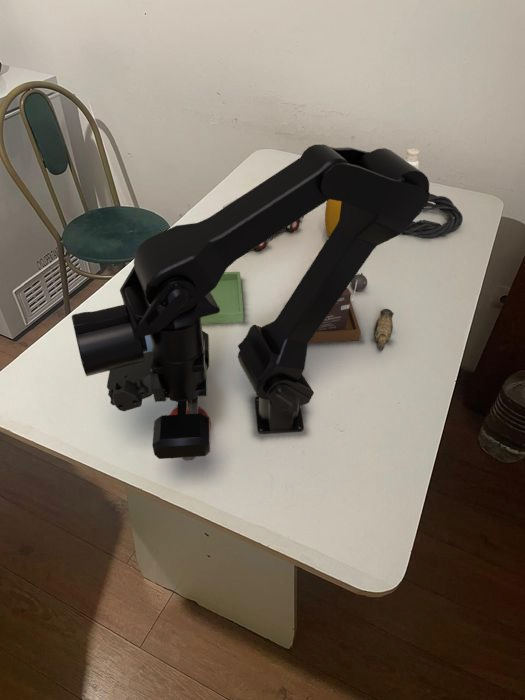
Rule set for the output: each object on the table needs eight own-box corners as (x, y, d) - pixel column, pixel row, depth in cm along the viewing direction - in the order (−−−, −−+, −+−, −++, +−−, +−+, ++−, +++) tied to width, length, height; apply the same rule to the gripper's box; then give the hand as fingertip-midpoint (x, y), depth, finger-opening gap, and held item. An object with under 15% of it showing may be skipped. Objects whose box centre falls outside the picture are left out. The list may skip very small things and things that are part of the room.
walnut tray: (359, 340, 86) (360, 331, 84) (298, 343, 85) (299, 334, 84) (346, 302, 93) (348, 293, 92) (291, 305, 93) (291, 295, 91)
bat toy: (343, 312, 91) (347, 291, 88) (355, 265, 102) (359, 245, 98) (360, 315, 91) (364, 294, 87) (370, 268, 101) (374, 247, 98)
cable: (462, 215, 117) (467, 197, 114) (456, 247, 107) (462, 228, 104) (386, 202, 121) (390, 184, 118) (375, 231, 111) (378, 213, 108)
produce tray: (243, 322, 89) (243, 312, 87) (172, 325, 88) (171, 315, 87) (240, 280, 98) (239, 271, 96) (175, 282, 97) (174, 273, 95)
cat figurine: (392, 322, 89) (396, 307, 85) (387, 360, 84) (391, 346, 81) (376, 319, 89) (379, 305, 86) (369, 357, 85) (373, 343, 82)
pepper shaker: (418, 194, 124) (429, 148, 116) (410, 203, 121) (420, 157, 113) (397, 188, 126) (406, 143, 119) (388, 197, 123) (397, 151, 115)
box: (313, 334, 86) (316, 299, 81) (301, 312, 90) (304, 278, 85) (346, 328, 87) (352, 293, 82) (333, 306, 91) (338, 272, 86)
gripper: (115, 297, 64) (135, 382, 75) (91, 414, 50) (120, 497, 61) (205, 293, 65) (212, 378, 75) (205, 407, 51) (213, 491, 62)
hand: (189, 430), depth 69 cm, fingers open, 9 cm apart
